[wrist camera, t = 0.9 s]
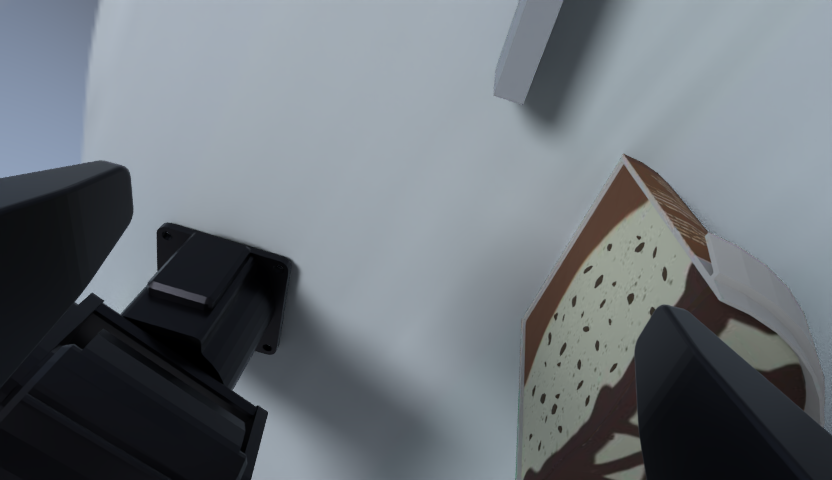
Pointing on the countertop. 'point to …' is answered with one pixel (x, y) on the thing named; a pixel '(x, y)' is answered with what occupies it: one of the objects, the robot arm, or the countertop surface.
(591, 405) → the food container
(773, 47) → the countertop surface
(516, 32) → the frame
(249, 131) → the countertop surface
